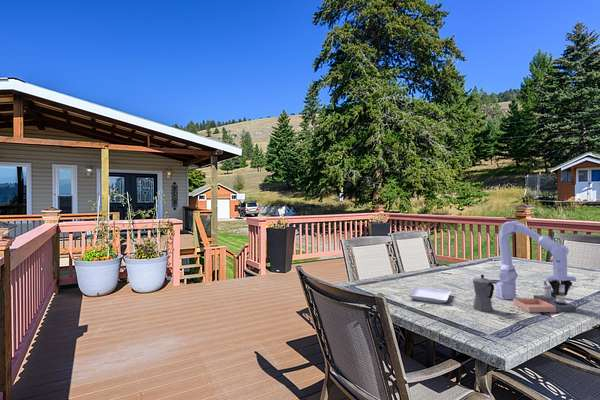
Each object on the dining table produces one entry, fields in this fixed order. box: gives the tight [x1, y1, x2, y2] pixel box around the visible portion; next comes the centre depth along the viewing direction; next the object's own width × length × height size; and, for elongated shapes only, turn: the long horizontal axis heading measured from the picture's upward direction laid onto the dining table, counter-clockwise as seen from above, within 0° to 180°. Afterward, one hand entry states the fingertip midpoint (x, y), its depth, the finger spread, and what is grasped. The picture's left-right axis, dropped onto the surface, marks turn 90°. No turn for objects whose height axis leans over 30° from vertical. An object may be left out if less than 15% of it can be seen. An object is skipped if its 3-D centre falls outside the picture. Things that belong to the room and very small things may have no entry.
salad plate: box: [407, 286, 453, 304], centre depth 200 cm, size 21×21×3 cm
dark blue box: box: [543, 279, 561, 298], centre depth 197 cm, size 6×8×11 cm
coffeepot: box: [472, 274, 495, 313], centre depth 178 cm, size 15×9×18 cm, turn 6°
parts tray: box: [512, 298, 557, 314], centre depth 178 cm, size 13×13×3 cm
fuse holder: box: [533, 294, 577, 313], centre depth 182 cm, size 8×20×2 cm, turn 179°
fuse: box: [542, 284, 552, 299], centre depth 187 cm, size 4×4×9 cm
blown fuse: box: [556, 284, 566, 303], centre depth 177 cm, size 4×4×9 cm
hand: (560, 295), depth 177 cm, fingers closed on blown fuse, 4 cm apart
